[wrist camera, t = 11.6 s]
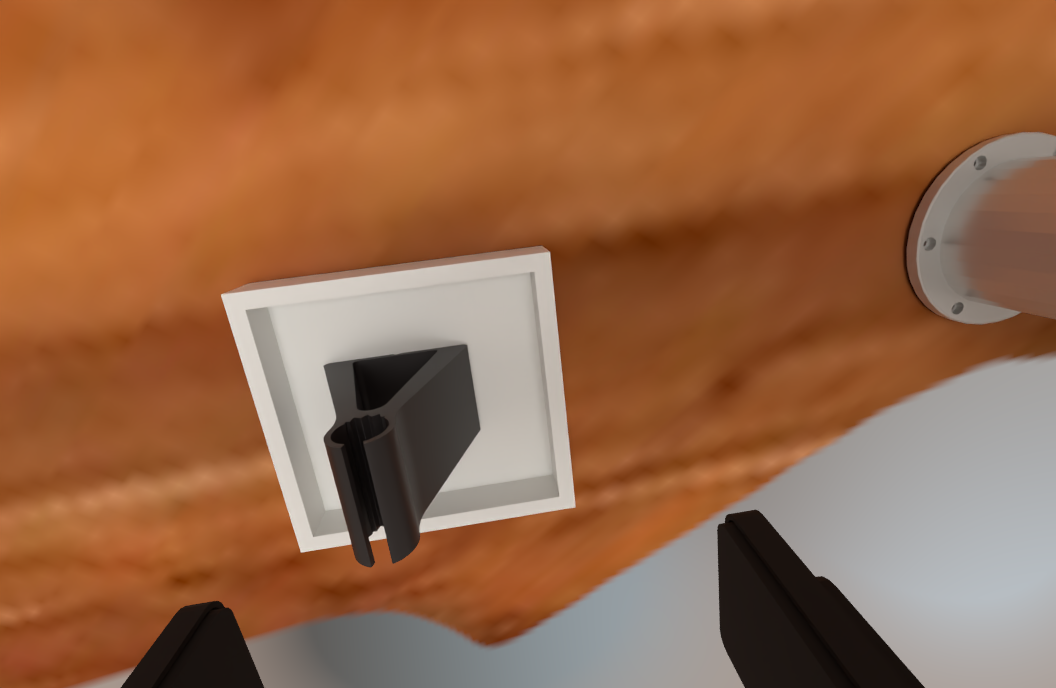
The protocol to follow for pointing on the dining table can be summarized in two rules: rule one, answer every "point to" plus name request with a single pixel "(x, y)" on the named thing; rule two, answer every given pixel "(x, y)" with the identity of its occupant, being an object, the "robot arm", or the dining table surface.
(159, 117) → the dining table surface
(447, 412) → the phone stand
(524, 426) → the tray
